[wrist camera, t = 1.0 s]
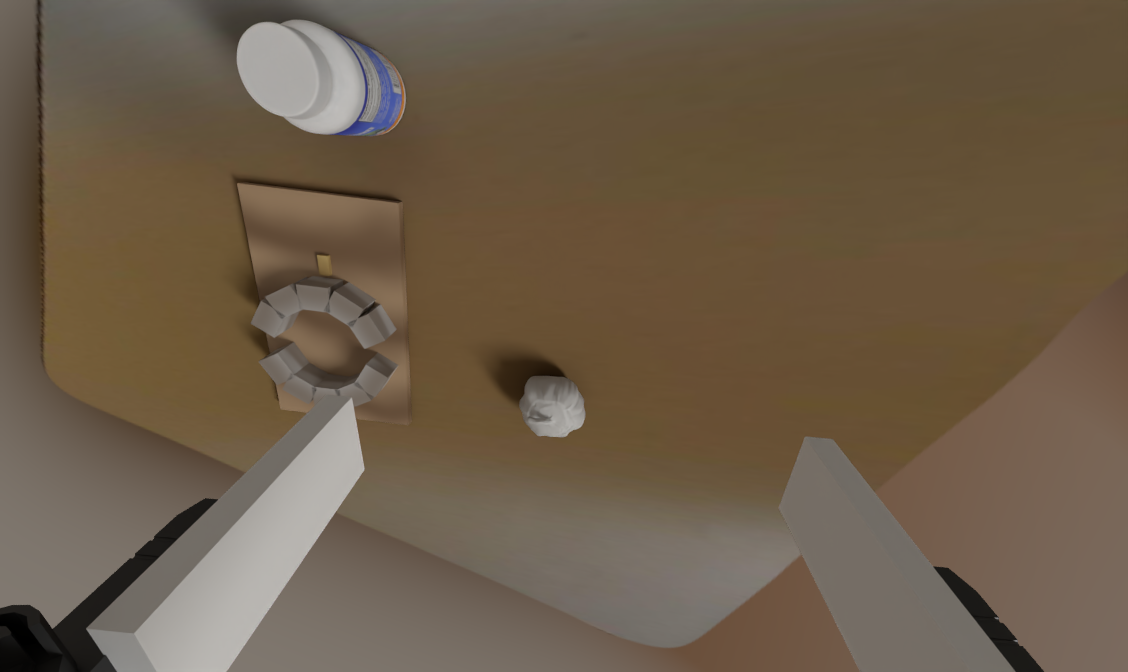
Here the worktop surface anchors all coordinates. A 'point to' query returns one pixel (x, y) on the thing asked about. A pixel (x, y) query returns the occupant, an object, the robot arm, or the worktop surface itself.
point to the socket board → (353, 260)
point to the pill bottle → (320, 79)
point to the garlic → (552, 406)
